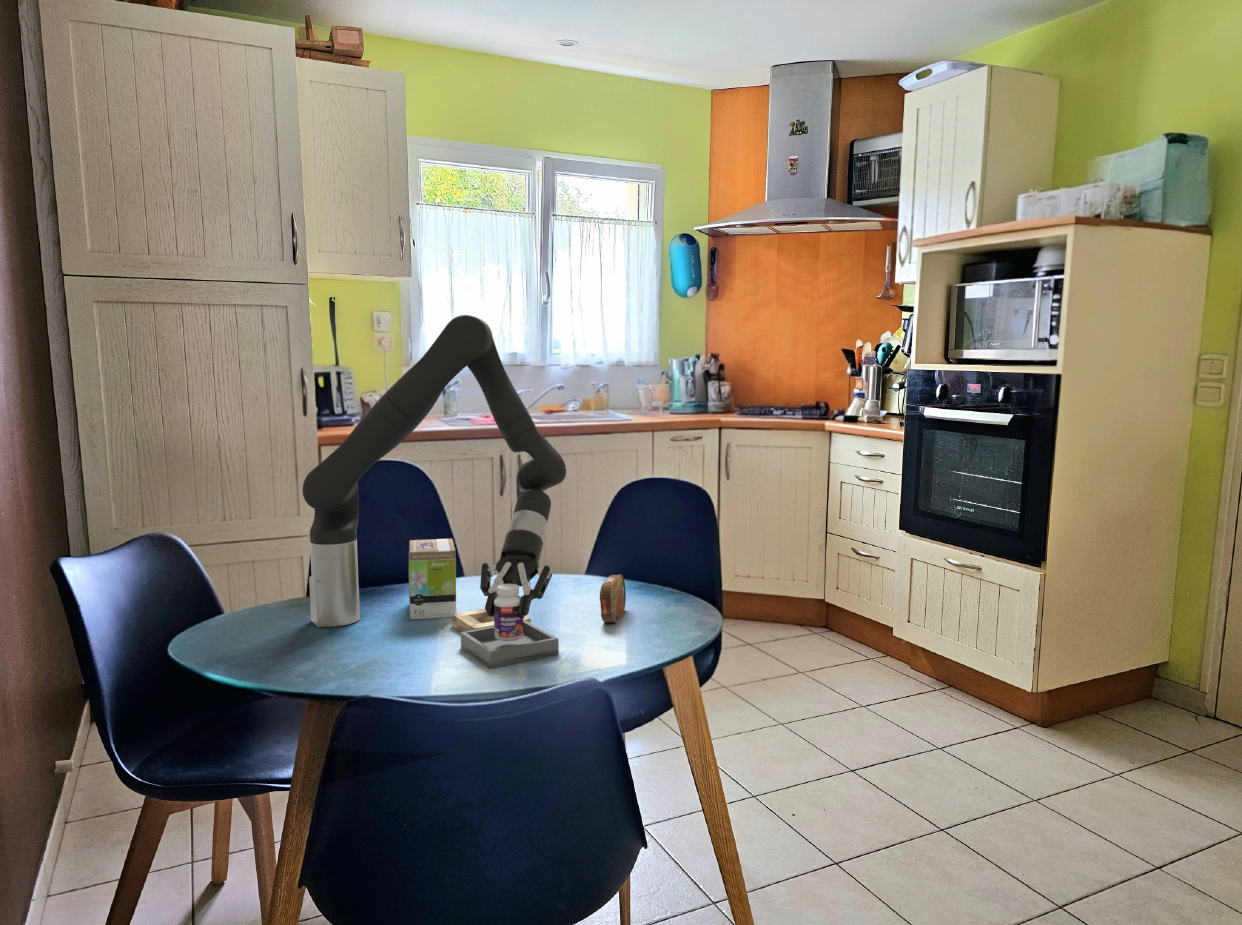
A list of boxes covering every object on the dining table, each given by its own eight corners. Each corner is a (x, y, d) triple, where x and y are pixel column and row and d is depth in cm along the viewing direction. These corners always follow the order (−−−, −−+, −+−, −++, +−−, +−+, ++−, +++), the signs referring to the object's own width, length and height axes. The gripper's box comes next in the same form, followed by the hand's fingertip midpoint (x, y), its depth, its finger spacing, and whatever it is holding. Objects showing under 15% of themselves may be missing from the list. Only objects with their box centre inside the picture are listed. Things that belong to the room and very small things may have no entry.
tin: (612, 627, 167) (612, 587, 167) (597, 627, 168) (597, 586, 167) (627, 607, 182) (626, 570, 181) (613, 607, 183) (612, 570, 182)
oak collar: (475, 641, 159) (474, 628, 159) (452, 625, 169) (451, 613, 169) (530, 630, 166) (530, 618, 165) (505, 616, 176) (505, 605, 175)
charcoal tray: (490, 668, 144) (489, 651, 144) (460, 647, 155) (460, 632, 155) (558, 654, 151) (558, 638, 151) (525, 635, 163) (525, 620, 162)
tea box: (458, 617, 175) (456, 549, 174) (409, 621, 173) (407, 552, 172) (454, 599, 190) (452, 536, 189) (409, 602, 188) (407, 538, 186)
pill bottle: (500, 643, 150) (498, 591, 149) (490, 635, 154) (489, 584, 153) (528, 638, 152) (526, 587, 151) (518, 630, 157) (516, 581, 156)
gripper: (485, 526, 160) (462, 603, 150) (555, 529, 157) (537, 607, 147) (495, 547, 166) (474, 623, 155) (564, 550, 163) (547, 627, 152)
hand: (505, 615), depth 151 cm, fingers closed on pill bottle, 5 cm apart
